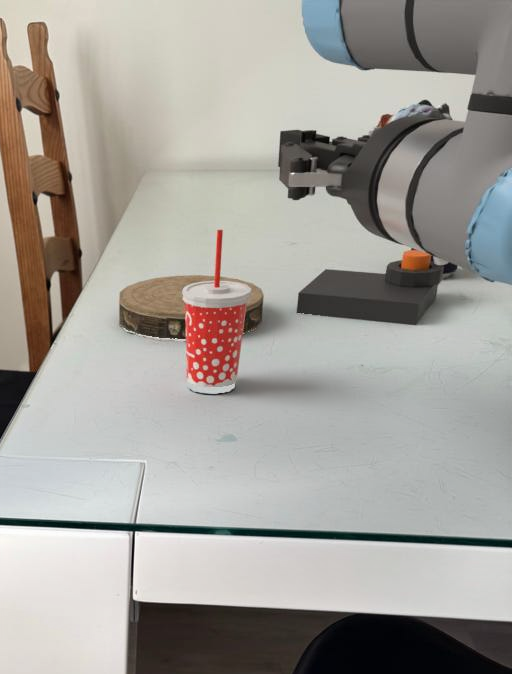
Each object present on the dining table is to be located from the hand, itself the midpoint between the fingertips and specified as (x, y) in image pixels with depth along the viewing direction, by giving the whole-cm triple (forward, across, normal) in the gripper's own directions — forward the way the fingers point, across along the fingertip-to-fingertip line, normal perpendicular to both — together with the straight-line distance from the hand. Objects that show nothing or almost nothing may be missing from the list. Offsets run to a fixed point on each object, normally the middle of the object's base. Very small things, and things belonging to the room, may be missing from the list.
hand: (287, 148), depth 84 cm
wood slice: (+22, -1, -20) cm, 30 cm away
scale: (+21, +19, -20) cm, 35 cm away
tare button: (+21, +25, -16) cm, 36 cm away
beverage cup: (+1, -6, -20) cm, 21 cm away
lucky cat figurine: (+92, +61, -18) cm, 112 cm away
